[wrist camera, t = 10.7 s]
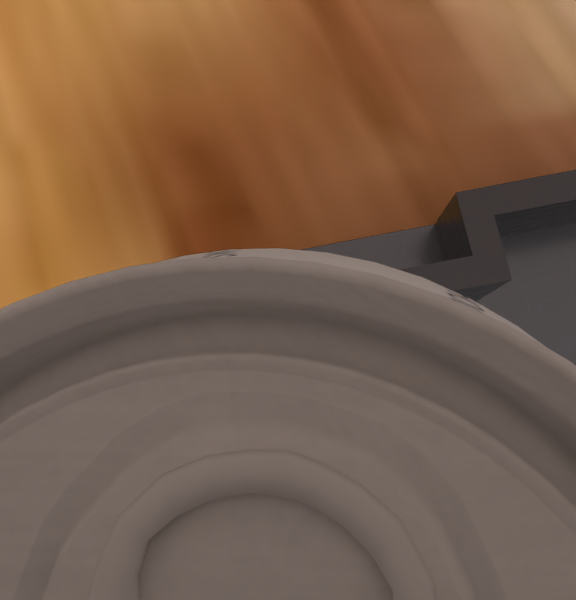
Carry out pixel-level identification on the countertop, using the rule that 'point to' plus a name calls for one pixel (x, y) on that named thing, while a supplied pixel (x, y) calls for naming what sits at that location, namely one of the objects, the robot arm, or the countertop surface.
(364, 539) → the beer can
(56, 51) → the countertop surface
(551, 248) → the keyhole plate
